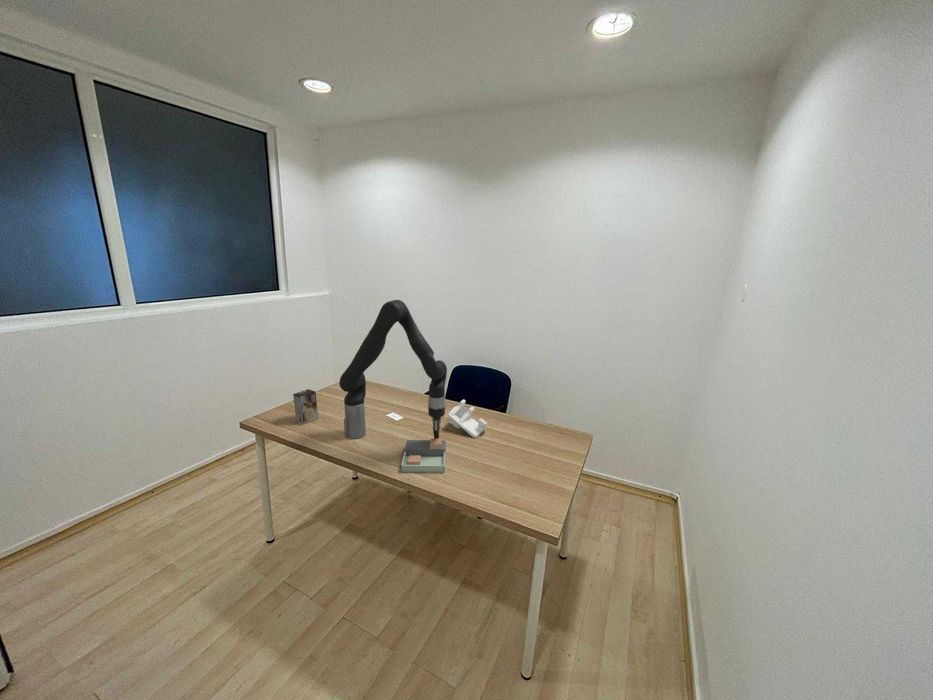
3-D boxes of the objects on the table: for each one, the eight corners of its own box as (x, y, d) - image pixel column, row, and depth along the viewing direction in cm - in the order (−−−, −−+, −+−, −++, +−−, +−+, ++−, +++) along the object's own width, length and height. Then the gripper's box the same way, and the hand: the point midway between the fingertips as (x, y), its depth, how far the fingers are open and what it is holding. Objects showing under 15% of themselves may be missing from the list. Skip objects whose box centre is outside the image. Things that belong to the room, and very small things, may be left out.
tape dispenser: (480, 436, 187) (491, 419, 181) (470, 446, 177) (481, 428, 172) (451, 413, 193) (461, 395, 187) (440, 421, 183) (450, 402, 178)
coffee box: (311, 416, 194) (308, 388, 190) (318, 419, 191) (316, 391, 187) (295, 422, 186) (292, 393, 183) (303, 425, 183) (300, 396, 179)
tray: (400, 472, 146) (400, 465, 145) (404, 457, 156) (404, 451, 156) (444, 472, 146) (444, 466, 146) (445, 457, 157) (445, 451, 156)
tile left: (409, 455, 152) (409, 460, 153) (407, 461, 148) (408, 467, 148) (420, 455, 153) (420, 460, 153) (419, 461, 148) (419, 467, 149)
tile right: (430, 449, 156) (430, 444, 156) (430, 443, 161) (430, 438, 161) (441, 449, 157) (441, 444, 156) (441, 443, 161) (441, 438, 161)
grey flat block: (404, 456, 157) (404, 448, 156) (407, 447, 165) (407, 439, 164) (445, 457, 158) (445, 449, 157) (445, 448, 165) (445, 440, 164)
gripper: (429, 399, 164) (429, 432, 169) (427, 410, 152) (427, 447, 156) (445, 399, 165) (444, 432, 169) (444, 411, 152) (444, 447, 156)
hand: (436, 439), depth 163 cm, fingers closed
